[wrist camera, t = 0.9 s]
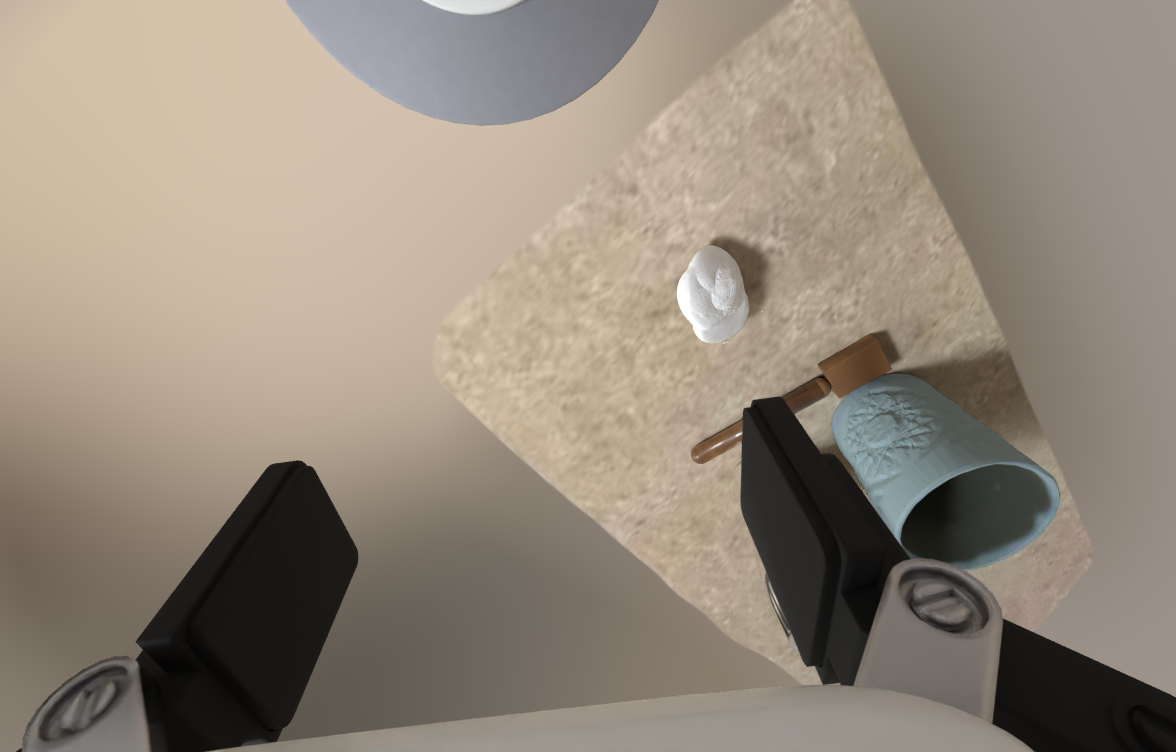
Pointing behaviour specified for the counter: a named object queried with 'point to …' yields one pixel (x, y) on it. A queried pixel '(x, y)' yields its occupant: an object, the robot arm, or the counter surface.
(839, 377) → the wooden spatula
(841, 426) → the teal embossed cup
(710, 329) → the dumpling
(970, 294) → the counter surface
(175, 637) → the robot arm
